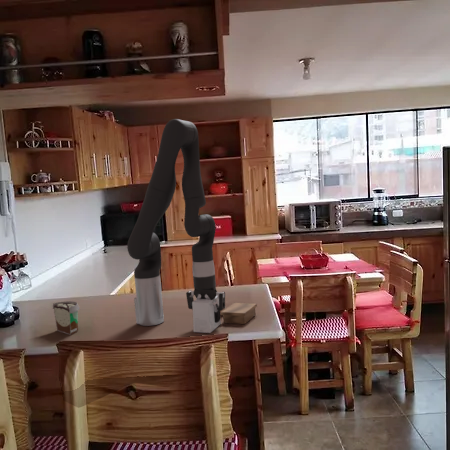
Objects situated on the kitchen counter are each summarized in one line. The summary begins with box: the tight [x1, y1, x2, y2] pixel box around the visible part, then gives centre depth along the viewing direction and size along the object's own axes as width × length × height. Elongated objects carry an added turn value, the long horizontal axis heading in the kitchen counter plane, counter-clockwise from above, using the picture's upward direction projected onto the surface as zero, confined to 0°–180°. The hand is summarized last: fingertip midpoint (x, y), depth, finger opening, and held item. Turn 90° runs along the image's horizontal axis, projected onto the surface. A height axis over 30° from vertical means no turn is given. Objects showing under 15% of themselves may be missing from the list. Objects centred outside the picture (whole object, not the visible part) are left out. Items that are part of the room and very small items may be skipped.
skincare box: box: [191, 296, 222, 334], centre depth 166 cm, size 10×6×10 cm, turn 161°
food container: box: [52, 300, 80, 336], centre depth 175 cm, size 12×6×10 cm, turn 48°
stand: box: [221, 302, 258, 325], centre depth 175 cm, size 9×12×4 cm
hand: (207, 321), depth 167 cm, fingers closed on skincare box, 6 cm apart
